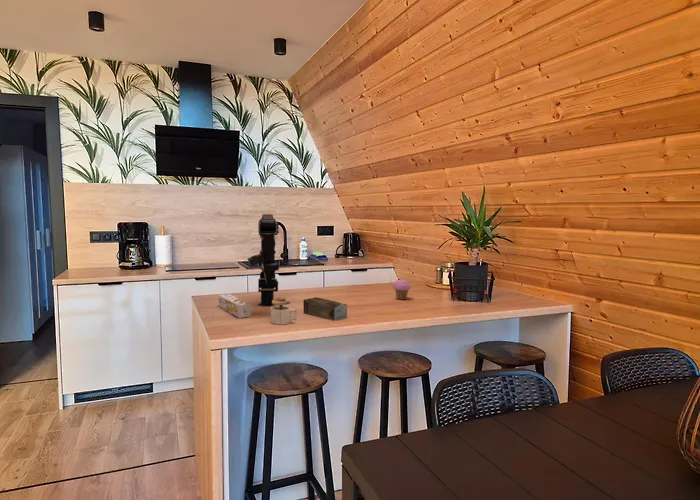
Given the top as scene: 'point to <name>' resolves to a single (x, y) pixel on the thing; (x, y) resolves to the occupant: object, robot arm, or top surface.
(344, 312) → the beverage carton
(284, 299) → the plunger
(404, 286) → the cupcake
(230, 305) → the box
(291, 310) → the press pot
